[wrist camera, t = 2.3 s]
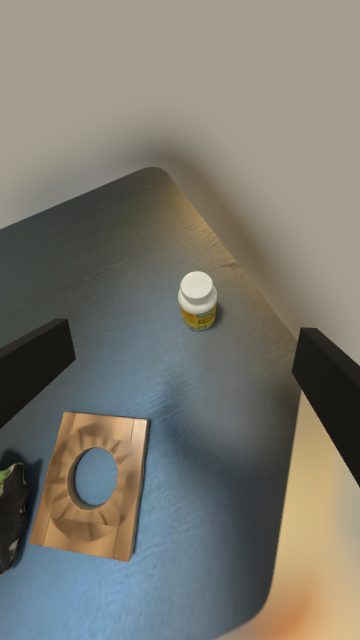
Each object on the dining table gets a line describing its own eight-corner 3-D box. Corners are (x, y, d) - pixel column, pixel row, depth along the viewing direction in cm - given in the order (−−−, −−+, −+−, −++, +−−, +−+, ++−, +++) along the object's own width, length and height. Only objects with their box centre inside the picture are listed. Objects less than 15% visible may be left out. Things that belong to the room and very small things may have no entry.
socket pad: (150, 419, 30) (147, 419, 29) (133, 554, 25) (129, 562, 23) (69, 411, 32) (63, 411, 31) (36, 537, 26) (27, 543, 25)
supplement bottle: (198, 296, 37) (196, 259, 29) (222, 315, 35) (227, 282, 27) (175, 316, 36) (166, 285, 27) (199, 338, 34) (196, 311, 26)
